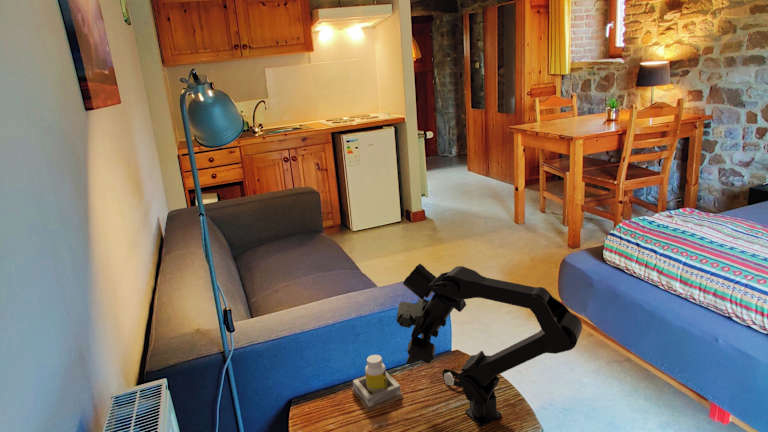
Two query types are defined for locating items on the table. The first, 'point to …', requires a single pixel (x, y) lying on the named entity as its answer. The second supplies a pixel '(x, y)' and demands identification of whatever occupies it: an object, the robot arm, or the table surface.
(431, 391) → the table surface
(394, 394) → the grey open square box
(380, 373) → the supplement bottle
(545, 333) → the robot arm
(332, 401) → the table surface
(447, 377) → the watch
